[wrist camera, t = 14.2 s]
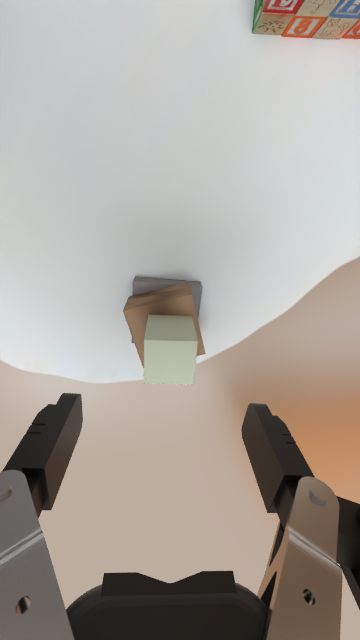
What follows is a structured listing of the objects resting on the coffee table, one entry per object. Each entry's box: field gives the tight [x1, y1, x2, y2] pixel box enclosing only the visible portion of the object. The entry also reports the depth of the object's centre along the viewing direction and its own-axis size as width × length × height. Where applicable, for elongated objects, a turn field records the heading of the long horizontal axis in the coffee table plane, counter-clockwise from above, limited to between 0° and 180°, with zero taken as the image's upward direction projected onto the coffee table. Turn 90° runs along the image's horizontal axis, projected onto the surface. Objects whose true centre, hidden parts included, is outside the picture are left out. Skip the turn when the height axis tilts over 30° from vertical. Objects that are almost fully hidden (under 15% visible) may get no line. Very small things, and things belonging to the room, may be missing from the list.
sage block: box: [144, 315, 198, 385], centre depth 27 cm, size 5×5×6 cm
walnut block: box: [123, 282, 205, 368], centre depth 32 cm, size 8×8×5 cm
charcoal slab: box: [132, 277, 202, 343], centre depth 35 cm, size 9×9×3 cm
